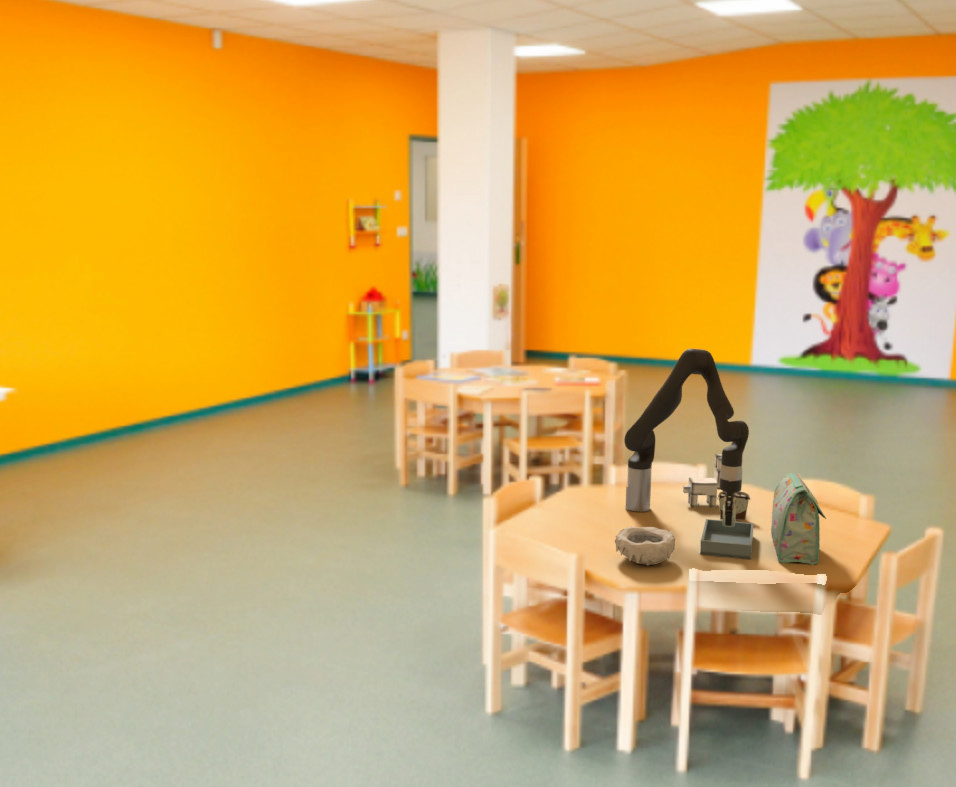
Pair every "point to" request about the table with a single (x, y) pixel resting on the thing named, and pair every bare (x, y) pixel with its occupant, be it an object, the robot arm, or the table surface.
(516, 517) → the table surface
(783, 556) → the lunch bag
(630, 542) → the bowl
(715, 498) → the toy llama
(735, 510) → the sage cylinder
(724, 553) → the bin
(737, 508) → the food container
